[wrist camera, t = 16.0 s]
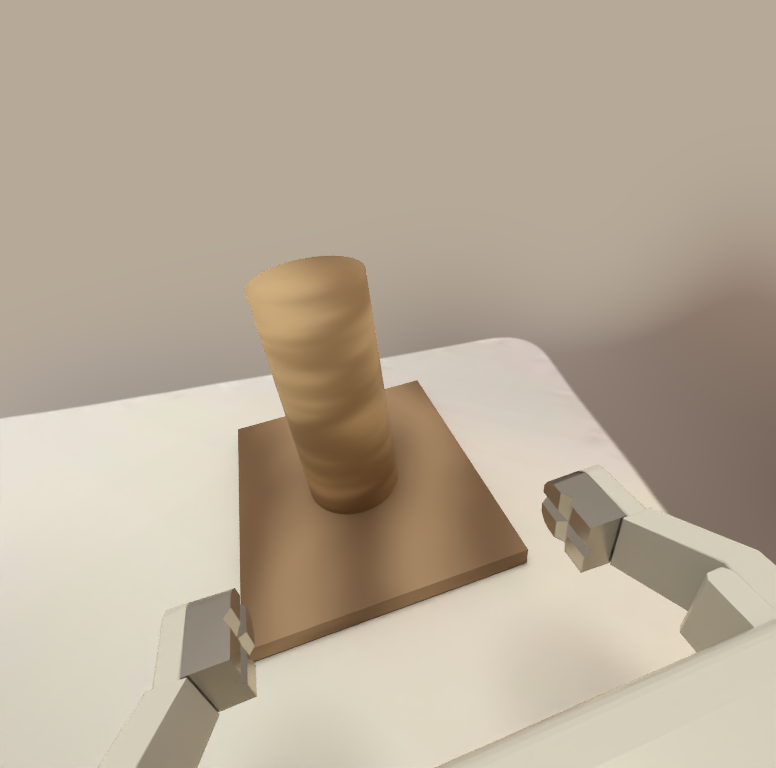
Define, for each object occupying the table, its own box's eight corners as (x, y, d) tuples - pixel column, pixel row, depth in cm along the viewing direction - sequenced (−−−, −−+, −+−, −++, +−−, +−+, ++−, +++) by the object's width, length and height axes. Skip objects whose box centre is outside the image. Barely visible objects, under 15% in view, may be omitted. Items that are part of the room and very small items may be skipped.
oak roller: (317, 526, 22) (245, 315, 16) (305, 461, 27) (244, 271, 20) (409, 497, 23) (379, 284, 16) (384, 438, 27) (351, 248, 21)
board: (248, 663, 18) (241, 652, 18) (242, 440, 30) (238, 429, 30) (526, 562, 21) (527, 549, 20) (418, 391, 33) (417, 380, 32)
